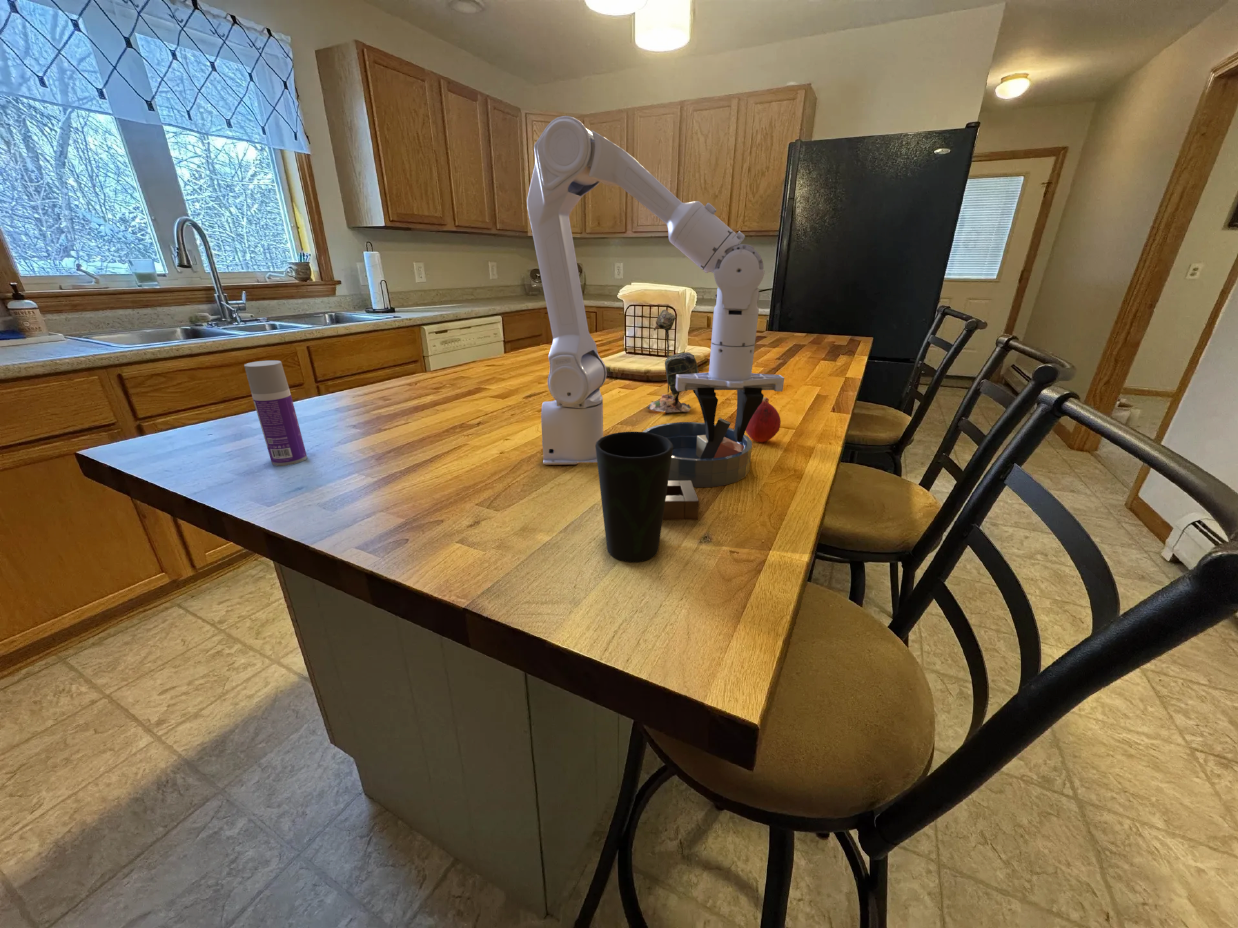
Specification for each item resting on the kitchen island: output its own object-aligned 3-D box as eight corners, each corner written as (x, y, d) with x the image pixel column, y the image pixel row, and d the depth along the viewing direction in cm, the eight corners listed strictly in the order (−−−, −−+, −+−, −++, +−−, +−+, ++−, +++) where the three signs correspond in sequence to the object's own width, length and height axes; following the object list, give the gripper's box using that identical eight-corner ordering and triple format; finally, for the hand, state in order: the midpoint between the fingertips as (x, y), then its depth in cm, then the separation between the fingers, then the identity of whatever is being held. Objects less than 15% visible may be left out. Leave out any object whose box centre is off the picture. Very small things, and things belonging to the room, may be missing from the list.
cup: (646, 576, 48) (649, 464, 44) (583, 553, 52) (579, 448, 47) (680, 541, 54) (686, 439, 50) (621, 523, 58) (621, 426, 53)
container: (314, 457, 77) (289, 361, 71) (284, 468, 73) (256, 367, 68) (294, 452, 79) (269, 359, 73) (264, 463, 75) (235, 364, 69)
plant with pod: (691, 419, 95) (698, 312, 88) (640, 411, 101) (642, 309, 93) (707, 409, 102) (715, 309, 94) (658, 401, 107) (662, 306, 100)
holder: (648, 524, 58) (649, 501, 57) (645, 501, 63) (645, 480, 62) (697, 523, 58) (699, 501, 57) (689, 501, 63) (691, 480, 62)
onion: (779, 451, 80) (785, 403, 77) (742, 448, 81) (747, 401, 78) (775, 439, 85) (781, 394, 82) (741, 436, 86) (746, 392, 83)
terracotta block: (711, 462, 71) (720, 443, 69) (715, 455, 73) (724, 436, 72) (732, 471, 70) (741, 452, 69) (735, 464, 73) (744, 445, 71)
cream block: (704, 462, 74) (706, 442, 73) (695, 454, 77) (696, 435, 76) (723, 460, 75) (725, 440, 74) (714, 452, 78) (715, 433, 76)
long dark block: (697, 462, 72) (718, 419, 69) (699, 459, 73) (719, 417, 71) (709, 467, 71) (729, 424, 69) (710, 464, 73) (731, 422, 71)
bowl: (641, 491, 66) (641, 460, 64) (635, 448, 81) (635, 422, 79) (762, 490, 66) (766, 460, 65) (734, 447, 81) (736, 421, 80)
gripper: (682, 348, 62) (677, 449, 67) (797, 348, 62) (782, 449, 67) (675, 339, 68) (671, 432, 74) (779, 340, 69) (767, 432, 74)
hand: (723, 439), depth 71 cm, fingers open, 3 cm apart
